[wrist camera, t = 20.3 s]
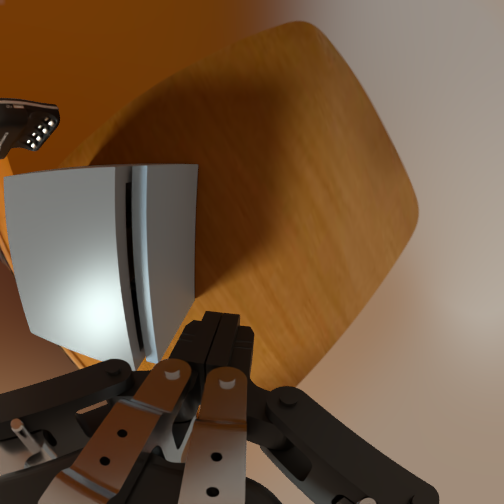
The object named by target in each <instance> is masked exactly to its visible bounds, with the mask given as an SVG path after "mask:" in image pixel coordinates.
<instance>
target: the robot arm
mask: <svg viewBox="0 0 504 504" xmlns="http://www.w3.org/2000/svg"><path fill="white" fill-rule="evenodd" d="M253 344H254V332H253V331H252V329H251V327H248V326H240V315H239V314H229V313H220V312H211V311H206V312H205V314H204V316H203V319H202V321H196V320H193V321H192V322H190V323H189V324H187V325H186V326H185V328H184V330H183V332H182V334H181V336H180V337H179V340H178V341H177V343H176V345H175V347H174V349H173V351H172V353H171V354H170V356H169V358H168V359H165V360H162V361H160V362H158V363H157V364H156V365H155V366H154V367H153V369H152V370H150V371H132V369H131V366H130V364H129V363H128V362H126V361H124V360H121V359H109V360H106V361H103V362H100V363H97V364H94V365H91V366H89V367H86V368H83V369H80V370H77V371H74V372H72V373H68V374H65V375H62V376H59V377H56V378H53V379H50V380H47V381H43V382H40V383H37V384H34V385H30V386H27V387H23V388H20V389H17V390H13V391H10V392H6V393H2V394H0V474H1V476H0V504H282V503H281V502H280V501H279V500H278V498H277V497H276V496H275V495H274V494H273V493H272V492H271V491H269V490H268V489H267V488H266V487H264V486H263V485H261V484H260V483H257V482H256V481H254V480H252V479H250V478H247V477H246V440H247V441H250V442H253V443H255V444H258V445H260V448H261V450H262V451H263V452H264V453H265V454H266V455H267V457H269V459H270V460H271V461H272V462H273V463H274V464H275V465H276V466H277V467H278V468H279V469H280V470H281V471H282V472H283V473H284V474H285V476H286V477H287V478H288V479H289V480H290V481H291V482H293V483H294V484H295V485H296V486H297V487H298V488H299V489H300V490H301V491H302V492H303V493H304V494H305V495H306V496H307V497H308V498H309V499H310V500H311V501H313V502H314V503H315V504H439V495H438V492H437V491H436V489H435V488H434V487H433V486H431V485H430V484H428V483H426V482H425V481H423V480H422V479H420V478H418V477H416V476H415V475H414V474H412V473H411V472H409V471H408V470H406V469H405V468H403V467H402V466H400V465H399V464H397V463H396V462H394V461H393V460H391V459H390V458H389V457H387V456H385V455H384V454H383V453H381V452H380V451H379V450H377V449H375V448H374V447H373V446H372V445H370V444H369V443H367V442H366V441H365V440H364V439H362V438H361V437H359V436H358V435H357V434H356V433H354V432H353V431H352V430H350V429H349V428H348V427H346V426H345V425H344V424H343V423H341V422H340V421H339V420H338V419H336V418H335V417H334V416H332V415H331V414H330V413H329V412H327V411H326V410H325V409H324V408H323V407H321V406H320V405H319V404H318V403H317V402H315V401H314V400H313V399H312V398H310V397H309V396H308V395H307V394H306V393H304V392H303V391H302V390H300V389H298V388H295V387H289V386H284V387H278V388H276V389H274V390H272V391H271V392H270V391H267V390H264V389H262V388H260V387H258V386H256V385H255V384H254V383H253V382H252V381H251V379H250V372H251V365H252V355H253ZM104 400H106V401H107V403H108V404H107V405H104V406H101V407H99V408H96V409H94V410H91V411H88V412H86V413H83V414H78V413H76V412H77V411H78V410H80V409H83V408H86V407H88V406H91V405H94V404H96V403H99V402H102V401H104ZM199 405H201V407H200V412H199V417H198V419H196V418H197V416H196V413H197V410H198V407H199Z"/></svg>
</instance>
